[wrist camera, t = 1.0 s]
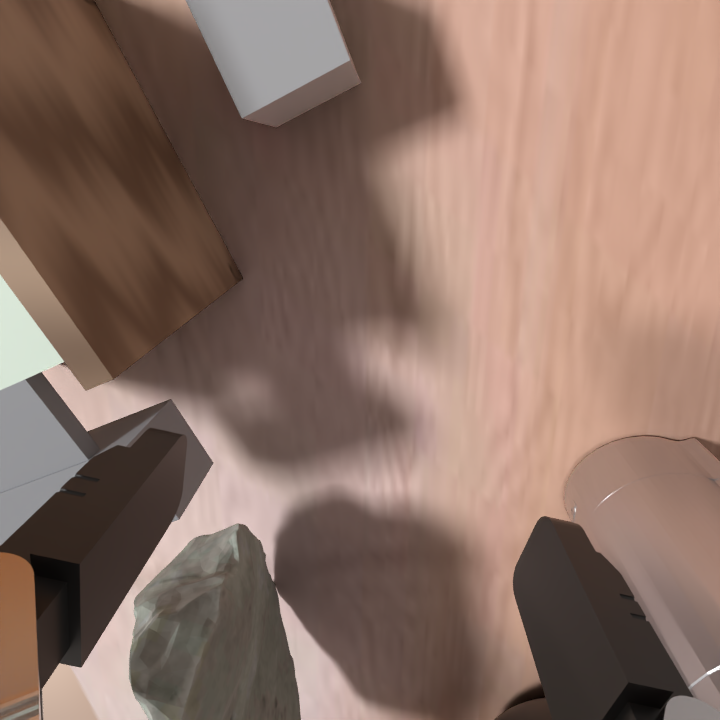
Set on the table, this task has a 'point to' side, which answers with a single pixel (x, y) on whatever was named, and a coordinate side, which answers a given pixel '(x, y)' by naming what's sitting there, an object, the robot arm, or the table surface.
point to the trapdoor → (59, 425)
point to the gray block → (276, 54)
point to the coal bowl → (528, 711)
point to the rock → (213, 636)
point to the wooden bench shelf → (94, 196)
